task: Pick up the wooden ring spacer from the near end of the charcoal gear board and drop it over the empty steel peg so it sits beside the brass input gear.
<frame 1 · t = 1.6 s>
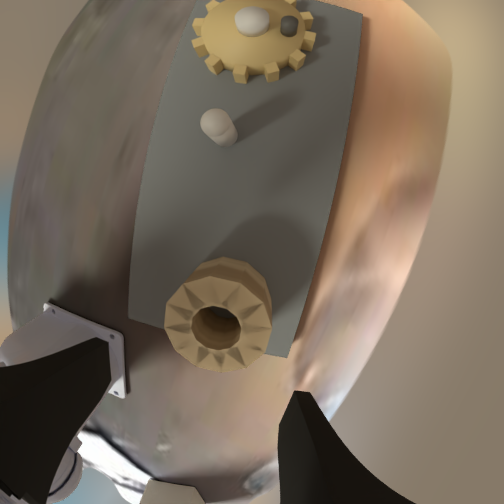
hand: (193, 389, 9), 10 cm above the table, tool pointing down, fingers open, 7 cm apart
wooden ring spacer: (226, 299, 18), point 1 cm above the table, touching gear board
milk carton: (178, 491, 27), on the table
gear board: (243, 151, 17), on the table
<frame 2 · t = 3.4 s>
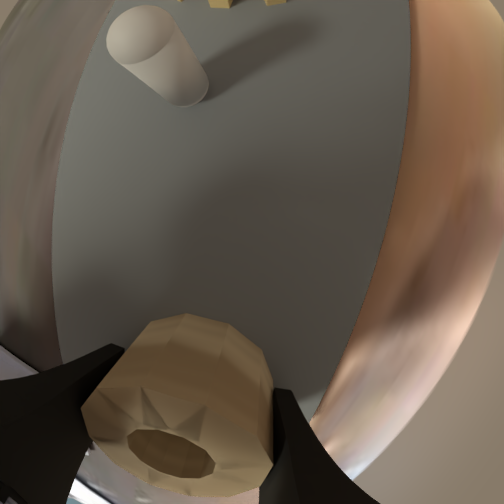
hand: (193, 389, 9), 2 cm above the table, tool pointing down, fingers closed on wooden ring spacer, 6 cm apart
wooden ring spacer: (197, 378, 10), point 2 cm above the table, touching gear board, gripper
gear board: (224, 121, 9), on the table
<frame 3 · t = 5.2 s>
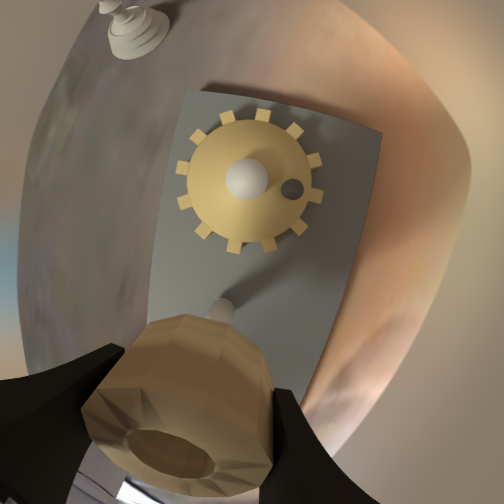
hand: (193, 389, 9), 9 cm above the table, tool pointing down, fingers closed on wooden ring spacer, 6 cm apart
wooden ring spacer: (197, 378, 10), point 9 cm above the table, touching gripper
chalice: (140, 34, 14), on the table
gear board: (240, 306, 18), on the table
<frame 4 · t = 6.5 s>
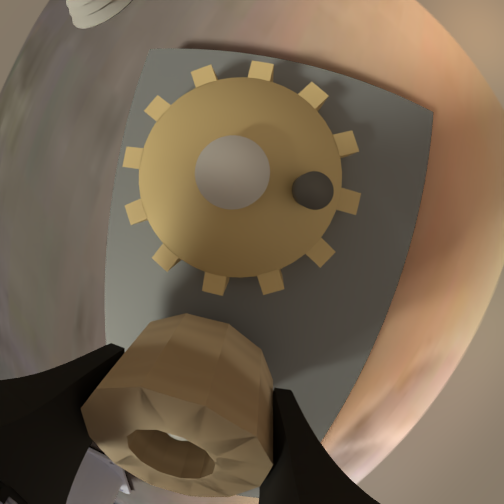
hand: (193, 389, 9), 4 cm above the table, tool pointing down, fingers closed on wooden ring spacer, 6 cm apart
wooden ring spacer: (197, 378, 10), point 3 cm above the table, touching gripper
gear board: (230, 353, 13), on the table
when the fingers open (4 cm above the table, at t = 7.3 s): wooden ring spacer drops 1 cm, resting on gear board.
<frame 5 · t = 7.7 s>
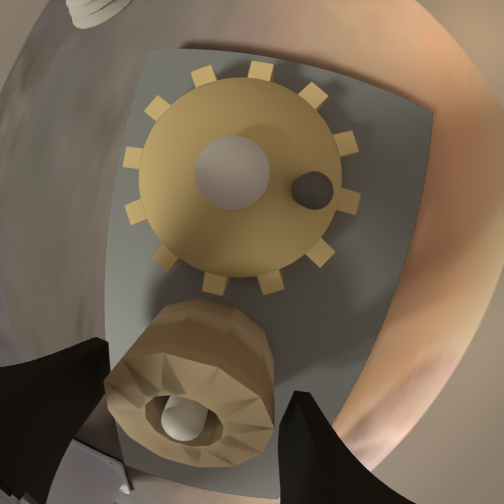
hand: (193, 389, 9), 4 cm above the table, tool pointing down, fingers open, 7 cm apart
wooden ring spacer: (206, 358, 11), point 1 cm above the table, touching gear board
gear board: (230, 353, 13), on the table
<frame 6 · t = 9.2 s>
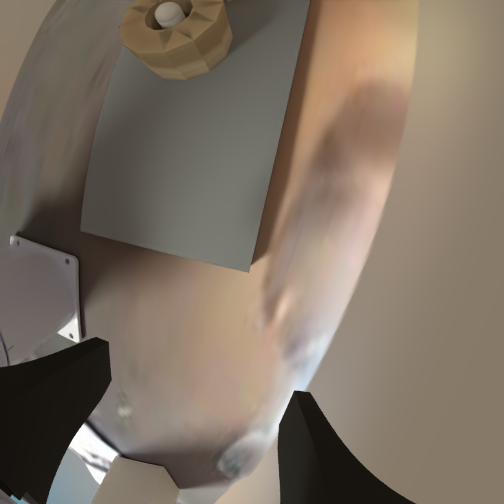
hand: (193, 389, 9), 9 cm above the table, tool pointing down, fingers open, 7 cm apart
wooden ring spacer: (187, 43, 13), point 1 cm above the table, touching gear board
milk carton: (148, 472, 25), on the table
gear board: (204, 59, 15), on the table
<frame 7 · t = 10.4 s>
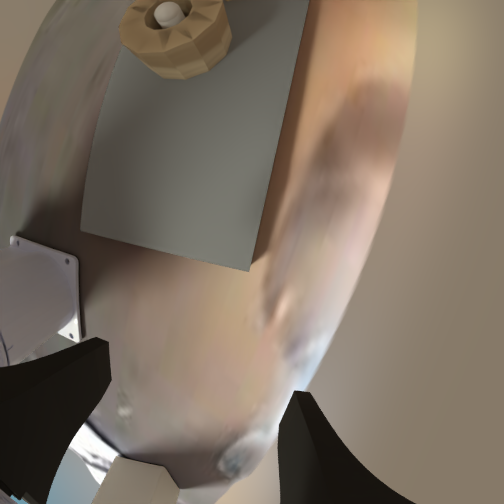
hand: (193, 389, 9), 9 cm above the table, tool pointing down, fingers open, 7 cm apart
wooden ring spacer: (187, 43, 13), point 1 cm above the table, touching gear board
milk carton: (149, 472, 25), on the table
gear board: (204, 59, 15), on the table
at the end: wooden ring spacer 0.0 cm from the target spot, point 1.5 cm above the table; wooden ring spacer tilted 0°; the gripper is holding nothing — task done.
